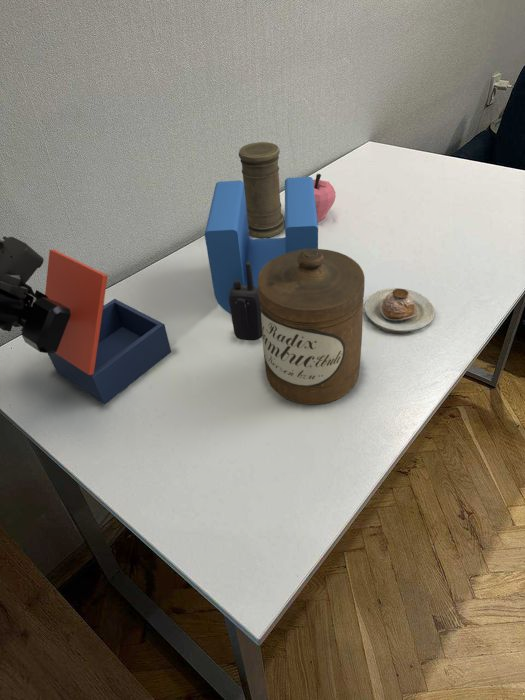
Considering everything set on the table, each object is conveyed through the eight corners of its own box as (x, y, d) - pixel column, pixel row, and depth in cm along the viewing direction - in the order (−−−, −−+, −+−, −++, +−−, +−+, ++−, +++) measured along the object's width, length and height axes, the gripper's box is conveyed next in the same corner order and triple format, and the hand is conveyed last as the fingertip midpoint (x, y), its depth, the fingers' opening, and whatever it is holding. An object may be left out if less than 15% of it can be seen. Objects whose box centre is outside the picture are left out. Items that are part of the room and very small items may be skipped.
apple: (292, 212, 120) (290, 171, 113) (327, 206, 121) (328, 165, 114) (302, 231, 113) (301, 189, 106) (339, 225, 114) (341, 183, 107)
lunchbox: (123, 325, 93) (114, 298, 88) (171, 352, 86) (164, 323, 82) (56, 372, 85) (43, 344, 80) (104, 405, 78) (92, 377, 74)
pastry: (359, 295, 94) (360, 275, 91) (423, 291, 94) (427, 270, 91) (370, 337, 86) (372, 316, 83) (442, 332, 85) (446, 311, 82)
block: (218, 319, 92) (203, 231, 80) (226, 264, 105) (215, 181, 93) (317, 315, 91) (318, 225, 79) (313, 260, 104) (313, 176, 92)
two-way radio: (266, 330, 89) (260, 257, 79) (261, 347, 86) (254, 273, 76) (236, 328, 90) (226, 255, 80) (229, 344, 87) (218, 271, 77)
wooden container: (248, 385, 79) (233, 267, 65) (293, 330, 88) (289, 215, 74) (334, 419, 73) (340, 297, 58) (373, 356, 82) (386, 236, 67)
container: (269, 242, 111) (263, 161, 99) (237, 231, 115) (228, 152, 103) (292, 224, 116) (289, 145, 104) (261, 215, 120) (255, 138, 108)
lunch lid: (54, 249, 75) (49, 249, 75) (107, 275, 69) (103, 275, 69) (44, 342, 80) (39, 343, 80) (93, 374, 74) (89, 375, 74)
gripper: (27, 254, 56) (128, 286, 69) (-54, 212, 65) (49, 248, 78) (-7, 347, 57) (99, 361, 70) (-82, 293, 66) (25, 315, 79)
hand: (67, 317), depth 74 cm, fingers closed
